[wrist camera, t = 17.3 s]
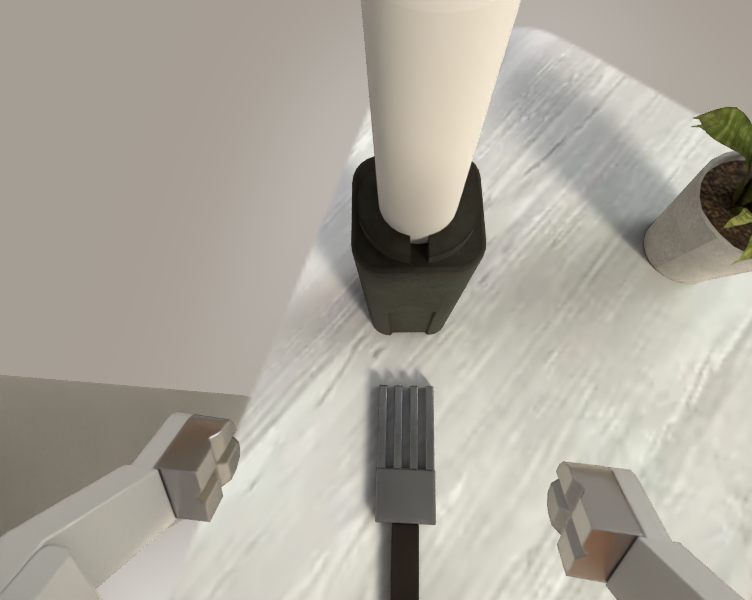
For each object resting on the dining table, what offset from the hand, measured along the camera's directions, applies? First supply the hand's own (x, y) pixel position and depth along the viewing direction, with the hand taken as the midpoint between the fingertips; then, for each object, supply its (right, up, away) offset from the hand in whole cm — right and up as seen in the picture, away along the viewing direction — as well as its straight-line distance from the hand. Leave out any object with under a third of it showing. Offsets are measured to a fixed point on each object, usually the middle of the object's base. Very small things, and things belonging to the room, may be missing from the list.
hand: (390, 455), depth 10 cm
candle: (+2, +4, +18) cm, 18 cm away
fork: (+1, -10, +13) cm, 17 cm away
